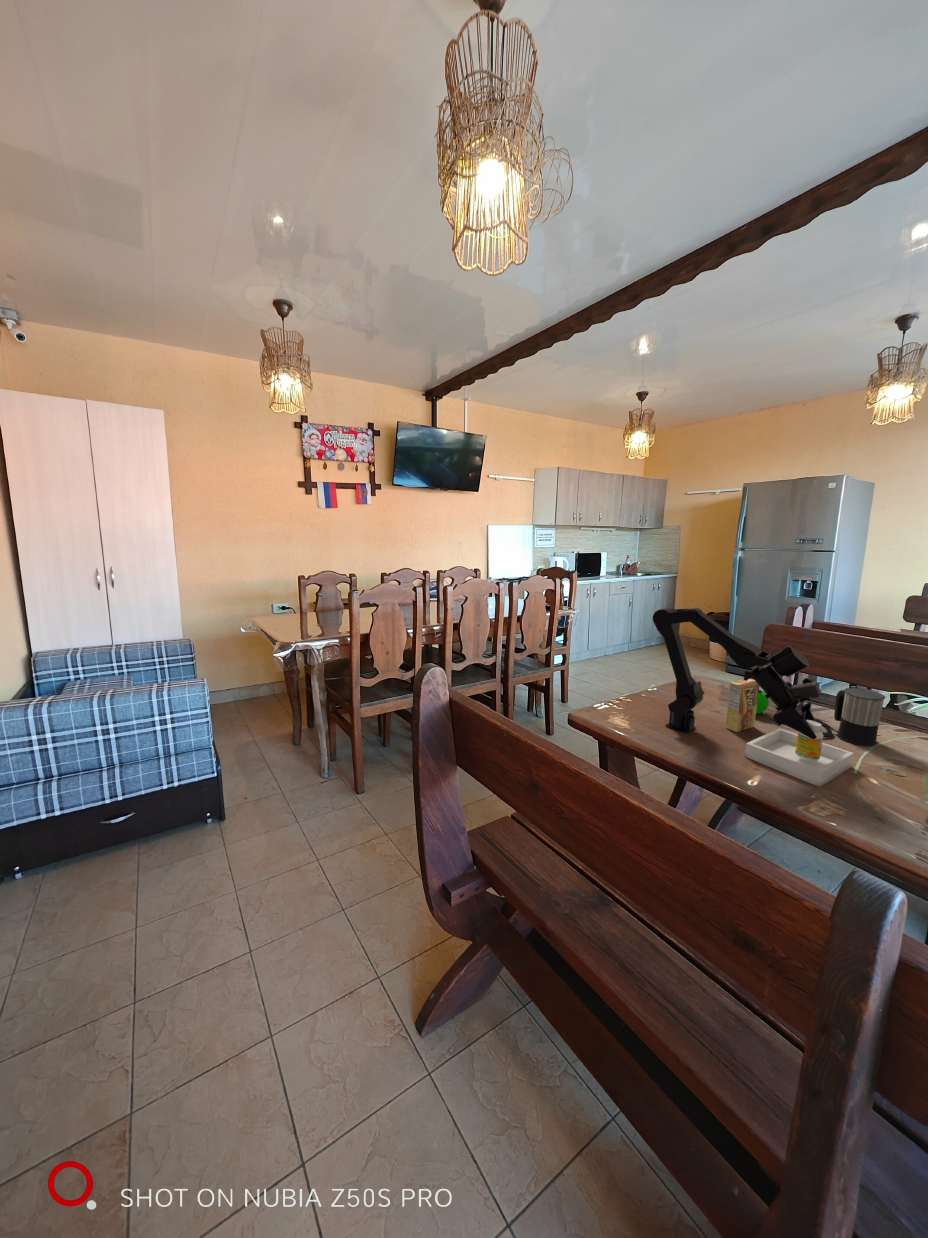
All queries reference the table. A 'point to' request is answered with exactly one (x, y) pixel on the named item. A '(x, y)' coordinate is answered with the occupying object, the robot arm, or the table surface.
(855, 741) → the milk frother
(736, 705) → the candy box
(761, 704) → the ornament
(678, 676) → the robot arm
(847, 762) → the box
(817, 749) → the supplement bottle
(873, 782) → the table surface
